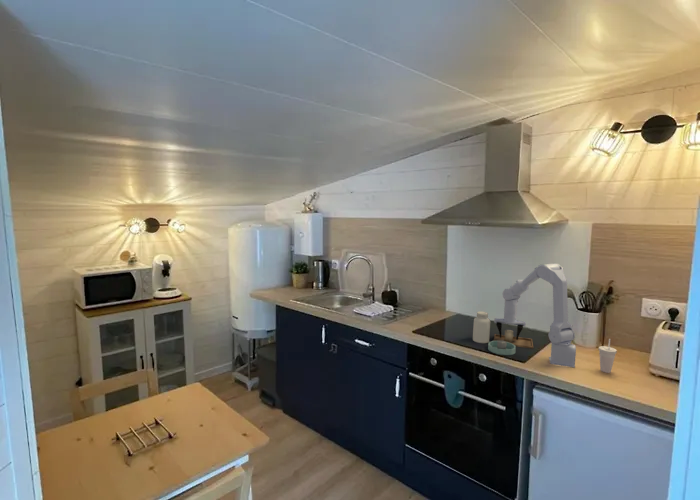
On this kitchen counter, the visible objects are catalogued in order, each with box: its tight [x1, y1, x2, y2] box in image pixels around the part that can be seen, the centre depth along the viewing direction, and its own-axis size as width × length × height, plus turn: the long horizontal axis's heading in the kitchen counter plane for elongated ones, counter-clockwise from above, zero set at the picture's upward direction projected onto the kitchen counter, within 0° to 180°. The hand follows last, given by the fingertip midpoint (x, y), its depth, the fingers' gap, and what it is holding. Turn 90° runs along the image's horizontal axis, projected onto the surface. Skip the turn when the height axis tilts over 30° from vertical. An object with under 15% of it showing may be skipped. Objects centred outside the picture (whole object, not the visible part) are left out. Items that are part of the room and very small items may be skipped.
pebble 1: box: [497, 340, 507, 349], centre depth 182 cm, size 4×4×5 cm
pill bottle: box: [472, 310, 491, 344], centre depth 197 cm, size 8×8×15 cm
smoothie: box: [598, 338, 618, 374], centre depth 163 cm, size 6×6×14 cm
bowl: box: [487, 340, 517, 356], centre depth 185 cm, size 12×12×3 cm
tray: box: [493, 333, 534, 349], centre depth 196 cm, size 18×12×2 cm, turn 68°
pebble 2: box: [504, 329, 514, 342], centre depth 197 cm, size 4×4×5 cm
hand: (508, 338), depth 197 cm, fingers open, 7 cm apart
